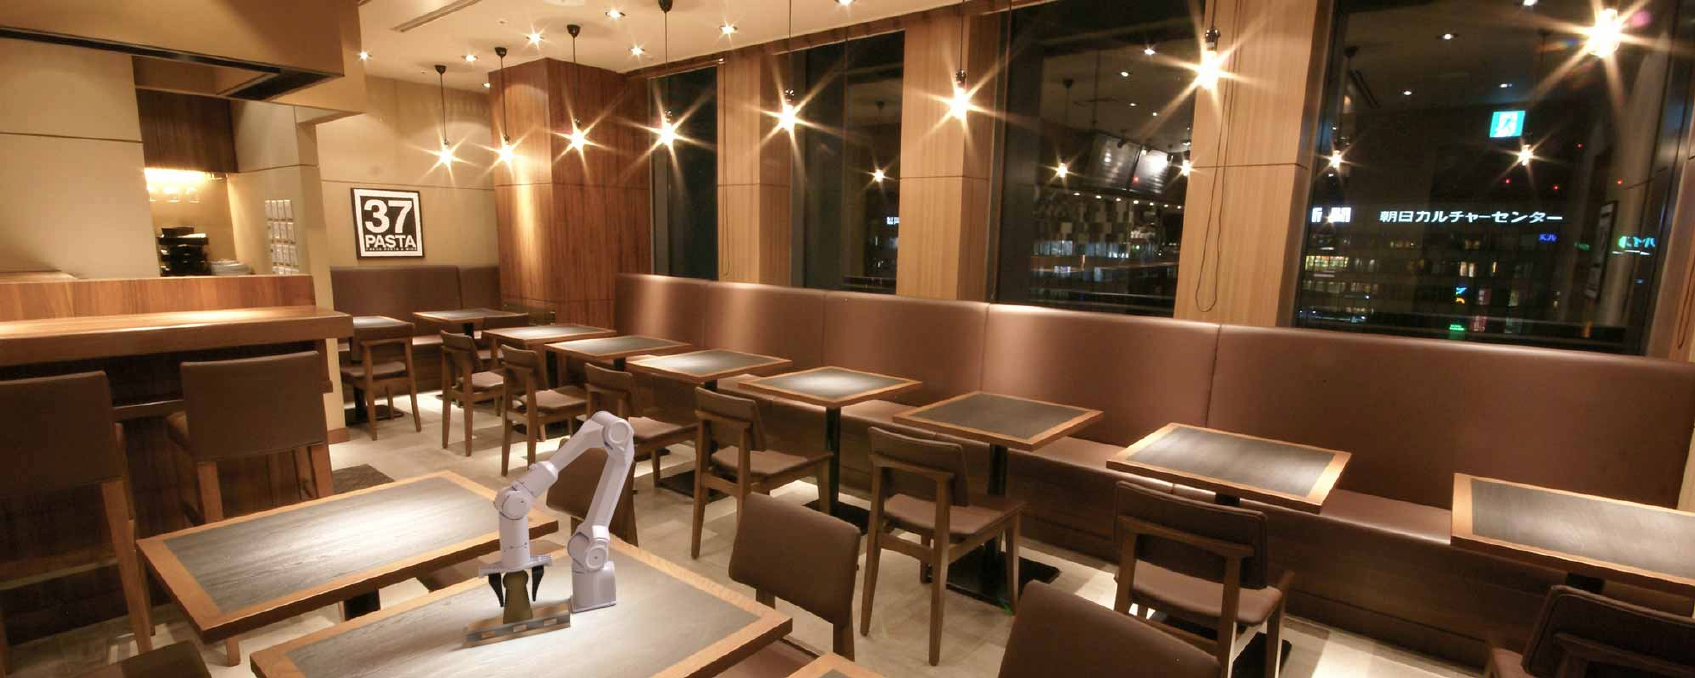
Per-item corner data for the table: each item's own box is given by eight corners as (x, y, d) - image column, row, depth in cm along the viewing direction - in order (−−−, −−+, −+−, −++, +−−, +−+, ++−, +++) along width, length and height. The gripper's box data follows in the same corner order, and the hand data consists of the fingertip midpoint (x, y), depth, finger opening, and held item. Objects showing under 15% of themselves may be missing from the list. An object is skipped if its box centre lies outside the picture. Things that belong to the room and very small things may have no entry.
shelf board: (567, 607, 169) (566, 595, 169) (570, 626, 161) (570, 614, 161) (468, 626, 161) (467, 613, 160) (467, 648, 153) (466, 634, 152)
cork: (496, 624, 160) (493, 576, 158) (514, 610, 166) (511, 564, 164) (521, 628, 159) (519, 579, 157) (538, 613, 165) (536, 567, 163)
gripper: (549, 530, 165) (552, 587, 167) (477, 541, 159) (481, 600, 161) (552, 542, 159) (555, 601, 161) (476, 554, 153) (480, 615, 155)
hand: (518, 602), depth 161 cm, fingers open, 6 cm apart
